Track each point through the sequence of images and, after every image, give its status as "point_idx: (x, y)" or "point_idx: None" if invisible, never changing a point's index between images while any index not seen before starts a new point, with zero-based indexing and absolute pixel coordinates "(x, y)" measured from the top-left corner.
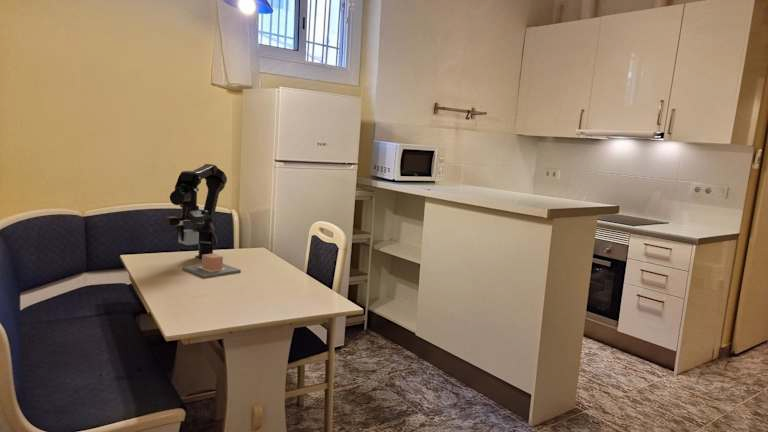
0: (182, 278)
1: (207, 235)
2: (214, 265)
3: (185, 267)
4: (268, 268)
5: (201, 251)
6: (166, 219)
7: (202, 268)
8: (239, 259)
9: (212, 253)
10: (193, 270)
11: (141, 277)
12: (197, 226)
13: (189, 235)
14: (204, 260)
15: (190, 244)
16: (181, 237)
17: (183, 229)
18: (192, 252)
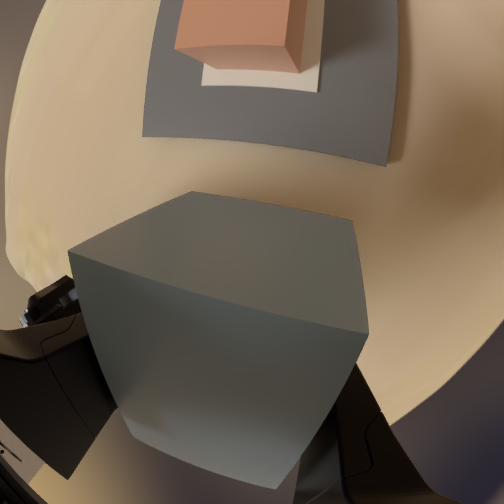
0: (473, 41)
1: (54, 319)
2: None
3: (381, 145)
4: (75, 4)
5: None
6: None
7: (320, 41)
8: (60, 175)
9: (181, 48)
10: (387, 52)
11: None
12: (23, 380)
13: (310, 275)
14: (296, 24)
15: (303, 211)
16: (353, 372)
17: (346, 479)
18: None
